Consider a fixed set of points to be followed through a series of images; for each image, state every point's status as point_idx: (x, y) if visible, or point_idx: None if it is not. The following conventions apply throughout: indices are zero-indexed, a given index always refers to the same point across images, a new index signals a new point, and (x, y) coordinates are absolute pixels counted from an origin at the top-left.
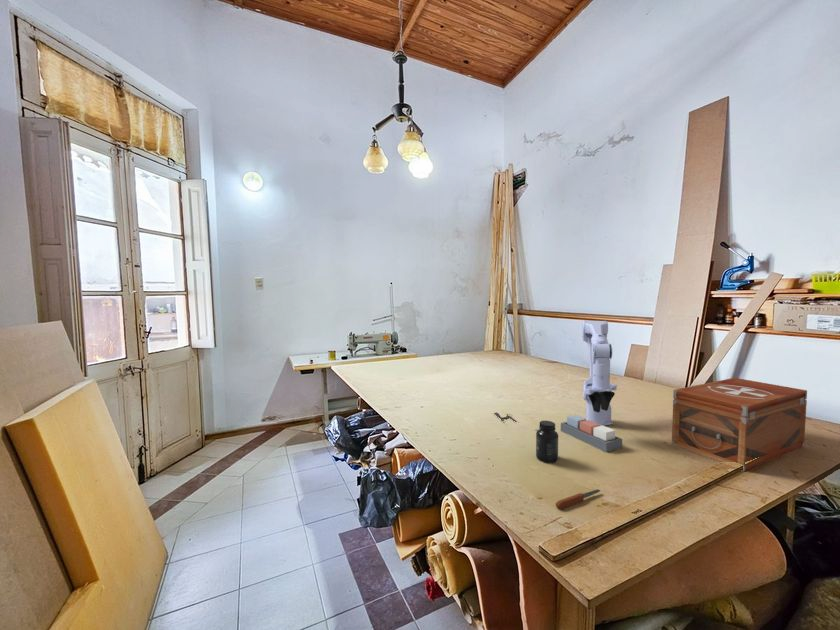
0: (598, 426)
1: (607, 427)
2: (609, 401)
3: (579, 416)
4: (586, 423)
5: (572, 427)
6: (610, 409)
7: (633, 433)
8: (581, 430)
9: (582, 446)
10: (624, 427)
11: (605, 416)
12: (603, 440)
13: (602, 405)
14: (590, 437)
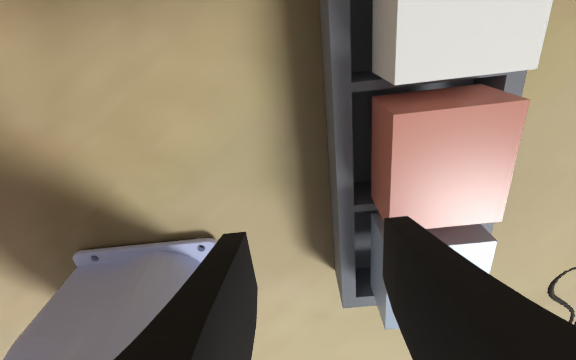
0: (461, 75)
1: (400, 15)
2: (159, 347)
3: (388, 301)
4: (489, 174)
5: (482, 224)
6: (26, 340)
7: (28, 102)
8: None
9: (558, 41)
10: (32, 195)
11: (110, 293)
12: (371, 43)
13: (247, 325)
14: None
